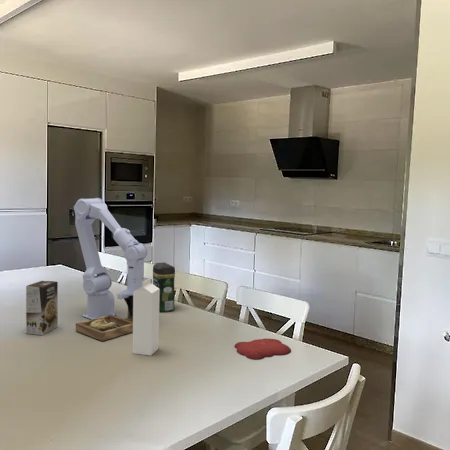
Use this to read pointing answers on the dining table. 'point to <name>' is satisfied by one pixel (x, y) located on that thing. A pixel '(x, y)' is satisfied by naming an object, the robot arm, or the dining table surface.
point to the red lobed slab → (262, 348)
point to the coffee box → (41, 307)
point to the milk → (146, 319)
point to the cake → (102, 325)
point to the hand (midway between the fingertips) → (135, 315)
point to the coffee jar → (164, 285)
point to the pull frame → (104, 335)
